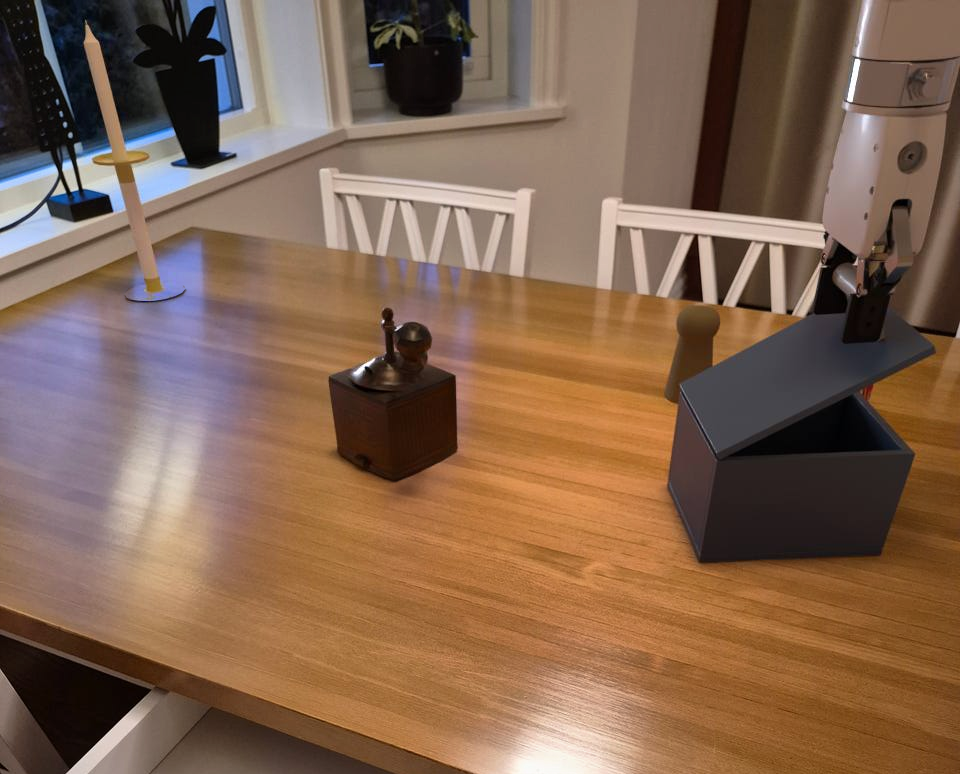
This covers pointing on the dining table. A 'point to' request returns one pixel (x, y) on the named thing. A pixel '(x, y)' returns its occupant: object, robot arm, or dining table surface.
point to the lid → (797, 374)
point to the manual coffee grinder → (396, 406)
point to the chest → (791, 486)
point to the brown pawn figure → (692, 346)
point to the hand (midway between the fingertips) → (844, 324)
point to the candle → (122, 165)
